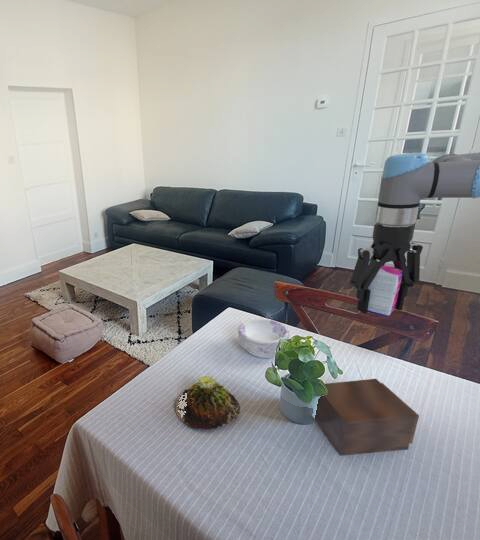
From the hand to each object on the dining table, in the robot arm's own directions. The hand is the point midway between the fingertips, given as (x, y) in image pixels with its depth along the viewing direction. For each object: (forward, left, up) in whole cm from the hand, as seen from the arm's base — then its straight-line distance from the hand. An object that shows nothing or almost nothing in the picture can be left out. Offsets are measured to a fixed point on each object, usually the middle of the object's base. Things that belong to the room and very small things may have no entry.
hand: (379, 309), depth 87 cm
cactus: (+42, +21, -22) cm, 52 cm away
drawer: (+6, +20, -21) cm, 29 cm away
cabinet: (+8, +21, -21) cm, 31 cm away
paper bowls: (+27, -9, -22) cm, 36 cm away
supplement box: (0, 0, 0) cm, 0 cm away
